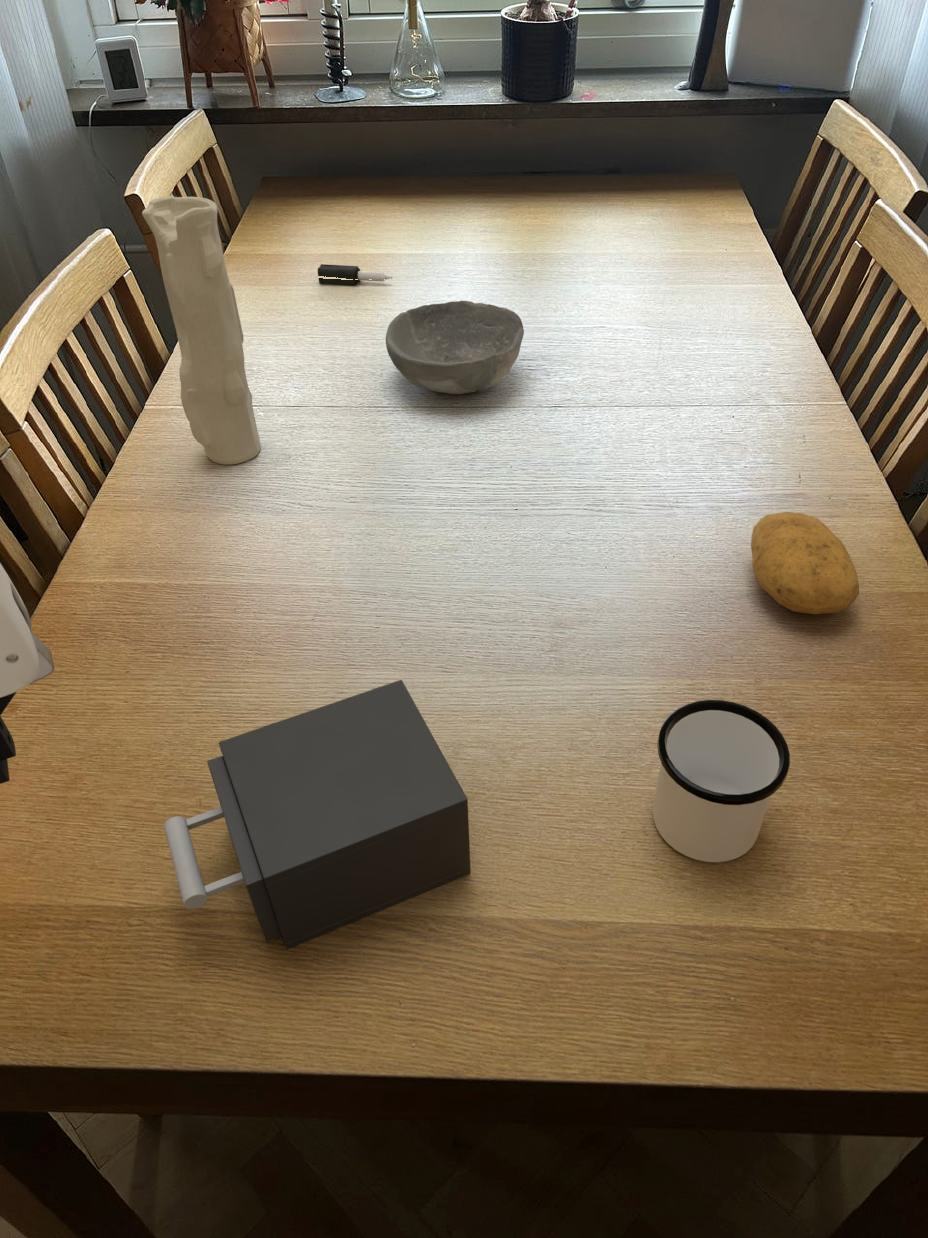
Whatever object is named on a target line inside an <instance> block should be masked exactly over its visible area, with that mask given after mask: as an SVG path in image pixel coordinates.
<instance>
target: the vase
mask: <svg viewBox="0 0 928 1238" xmlns="http://www.w3.org/2000/svg"><path fill="white" fill-rule="evenodd" d="M141 215H142V217H143V218H144V220H145V222H146V224H147V225H148V227H149V228H150V230H151V232H152V234H153V236H154V239H155V243H156V247H157V251H158V258H159V264H160V270H161V276H162V280H163V285H164V288H165V293H166V297H167V301H168V304H169V309H170V312H171V316H172V321H173V323H174V324H173V325H174V328H175V332H176V337H177V342H178V346H179V350H180V356H181V360H180V366H179V368H178V369H179V381H180V400H181V401H180V402H181V405H182V409H183V411H184V414H185V417H186V419H187V420H188V422H189V428H190V432H191V434H192V436H193V438H194V439H195V441H196V442H197V443H198V444H200V445H201V446H202V447H203V448H204V452H205V454H206V455H207V457H208V458H209V459H210V461H212V462H215V463H216V464H219V465H237V464H241V463H244V462H247V461H249V460H252V459H254V458H255V457H256V456H258V454H259V453H260V451H261V438H260V434H259V430H258V426H257V421H256V416H255V412H254V411H255V410H254V406H253V395H252V391H251V390H250V387H249V383H248V379H247V374H246V367H245V353H244V345H243V343H244V340H245V339H244V331H243V328H242V323H241V318H240V314H239V308H238V304H237V299H236V294H235V293H236V292H235V289H234V286H233V284H232V283H231V282H230V279H229V274H228V270H227V265H226V264H227V263H226V260H225V255H224V250H223V247H222V246H223V245H222V242H221V236H220V232H219V226H218V206H217V204H216V203H215V202H214V201H213V200H212V199H208V198H206V197H199V196H174V195H167V196H160V197H156V198H153V199H151V200H150V201H149V202H148V205H147V206H146V207H145V208H144V209H143V210H142V213H141Z"/></svg>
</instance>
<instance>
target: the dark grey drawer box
mask: <svg viewBox="0 0 928 1238" xmlns="http://www.w3.org/2000/svg"><path fill="white" fill-rule="evenodd" d="M218 745H219V750H220V751H221V754H222V755H221V756H223V758H224V761H225V764H226V767H227V770H228V773H229V776H230V779H231V782H232V785H233V788H234V791H235V794H236V797H237V800H238V803H239V806H240V809H241V812H242V815H243V818H244V821H245V824H246V827H247V830H248V833H249V836H250V839H251V843H252V846H253V849H254V852H255V855H256V858H257V861H258V864H259V867H260V870H261V873H262V876H263V879H264V882H265V885H266V888H267V891H268V894H269V897H270V900H271V903H272V906H273V909H274V912H275V915H276V919H277V922H278V925H279V928H280V931H281V934H282V937H281V938H282V940H283V943H284V946H285V948H286V950H289V949H292V948H294V947H296V946H299V945H301V944H305V943H307V942H309V941H311V940H314V939H316V938H318V937H320V936H323V935H326V934H328V933H329V932H333V931H336V930H338V929H340V928H342V927H345V926H347V925H349V924H350V925H351V923H354V922H356V921H359V920H361V919H363V918H366V917H368V916H371V915H374V914H377V913H379V912H381V911H384V910H386V909H388V908H390V907H393V906H396V905H397V904H400V903H402V902H405V901H407V900H410V899H413V898H414V897H417V896H420V895H422V894H425V893H428V892H429V891H432V890H434V889H436V888H439V887H441V886H444V885H445V884H448V883H450V882H453V881H455V880H458V879H460V878H463V877H465V876H468V875H470V874H471V873H472V872H471V871H472V870H471V851H470V849H471V848H470V824H469V801H468V800H469V799H468V797H467V795H466V794H465V792H464V790H463V788H462V786H461V784H460V783H459V781H458V779H457V777H456V776H455V773H454V772H453V769H452V767H451V766H450V765H449V763H448V761H447V759H446V757H445V756H444V754H443V752H442V750H441V748H440V746H439V744H438V743H437V741H436V739H435V736H433V734H432V732H431V730H430V729H429V726H428V724H427V722H426V720H425V719H424V717H423V715H422V714H421V712H420V710H419V708H418V707H417V705H416V703H415V701H414V699H413V698H412V696H411V694H410V692H409V690H408V688H407V686H406V684H405V682H404V681H403V679H398V680H396V681H393V682H391V683H387V684H384V685H382V686H379V687H376V688H373V689H370V690H367V691H363V692H361V693H358V694H354V695H353V696H349V697H347V698H343V699H341V700H337V701H334V702H332V703H329V704H326V705H323V706H320V707H317V708H314V709H311V710H309V711H305V712H302V713H299V714H296V715H294V716H291V717H288V718H285V719H282V720H279V721H276V722H273V723H270V724H267V725H265V726H261V727H258V728H256V729H253V730H250V731H247V732H245V733H241V734H238V735H235V736H233V737H230V738H229V737H228V738H226V739H224V740H221V741H218Z"/></svg>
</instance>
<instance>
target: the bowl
mask: <svg viewBox="0 0 928 1238" xmlns="http://www.w3.org/2000/svg"><path fill="white" fill-rule="evenodd" d="M524 334H525V329H524V325H523V321H522V319H521V317H520V316H519V314H517V313H516V312H515V311H514V310H511V309H509V308H506V307H501V306H497V305H494V304H490V303H487V304H486V303H483V302H473V301H469V300H459V301H457V300H455V301H448V302H440V303H432V304H424V305H421V306H417V307H415V308H410V309H408V310H406V311H402V312H400V313H399V314H398V315H397V316H395V317H394V318H393V319H392V320H391V321H390V323H389V324H388V327H387V330H386V334H385V347H386V352H387V354H388V357H389V359H390V361H391V362H392V364H393V365H394V367H395V368H396V369H397V371H398V372H399V373H400V374H401V375H402V376H403V377H404V378H406V380H407V381H409V382H410V383H412V384H413V385H415V386H417V387H420V388H423V389H425V390H428V391H429V392H436V393H442V394H450V395H465V394H472V393H474V392H479V391H485V390H487V389H490V388H491V387H494V386H496V385H498V384H499V383H500V382H501V381H502V380H503V379H504V378H505V377H506V376H507V374H509V372H510V371H511V369H512V367H513V366H514V364H515V363H516V361H517V360H518V357H519V354H520V350H521V346H522V342H523V339H524Z"/></svg>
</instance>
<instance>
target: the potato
mask: <svg viewBox="0 0 928 1238" xmlns="http://www.w3.org/2000/svg"><path fill="white" fill-rule="evenodd" d="M750 549H751V557H752V568H753V573H754V575H755V580H756V581H757V582H758V584H759V586H760V587H761V589H762V590H764V591H765V592H766V593H767V594H768V595H769V596H771V597H772V598H773V599H774V600H775V601H776V602H777V604H779V605H780V606H783V607H785V608H787V609H789V610H790V611H792V612H795V613H801V614H802V613H803V614H808V615H809V614H810V615H820V614H821V615H822V614H830V613H840V612H842V611H843V610H844V609H846V608H847V607H849V606H850V605H852V604H853V603H855V601H856V600H857V598H858V597H859V596H860V584H859V577H858V571H857V570H856V567H855V564H854V562H853V560H852V558H851V556H850V554H849V552H848V550H847V549H846V547H845V545H844V543H843V542H842V540H841V539H840V538H839V537H838V536H837V535H836V534H834V532H833V531H832V530H831V529H830V528H829V526H827V525H826V524H825V523H824V522H823V521H821V520H820V519H819V518H818V517H814V516H811V515H809V514H804V513H803V512H791V511H784V512H777V513H771V514H766V515H764V516H762V517H761V518H760V519H759V520H758V522H757V523H756V524H755V525H754V526H753V528H752V532H751V541H750Z"/></svg>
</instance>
